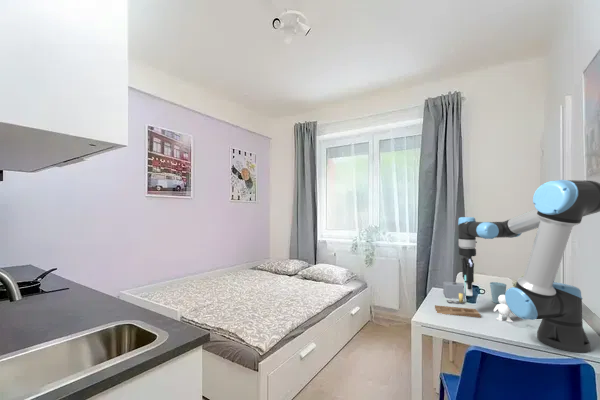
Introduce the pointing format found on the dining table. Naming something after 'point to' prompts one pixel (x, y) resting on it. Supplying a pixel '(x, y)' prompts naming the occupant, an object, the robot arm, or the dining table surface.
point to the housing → (453, 289)
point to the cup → (497, 290)
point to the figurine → (503, 309)
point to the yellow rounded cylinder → (457, 301)
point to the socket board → (458, 311)
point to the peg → (465, 284)
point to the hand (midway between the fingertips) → (468, 294)
